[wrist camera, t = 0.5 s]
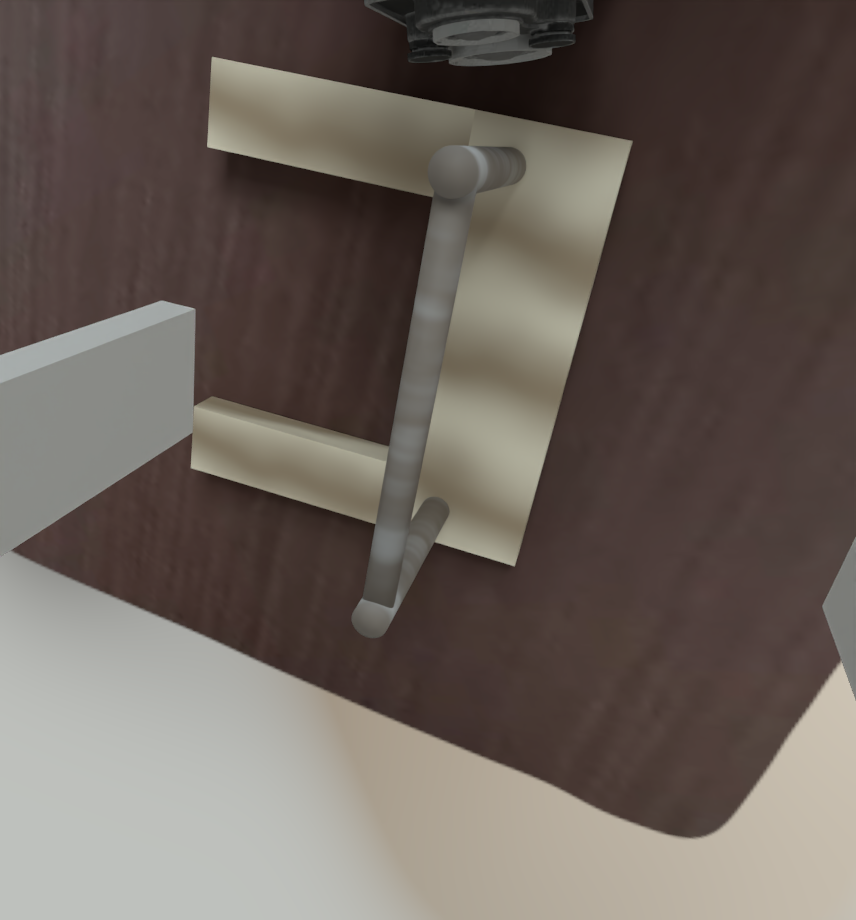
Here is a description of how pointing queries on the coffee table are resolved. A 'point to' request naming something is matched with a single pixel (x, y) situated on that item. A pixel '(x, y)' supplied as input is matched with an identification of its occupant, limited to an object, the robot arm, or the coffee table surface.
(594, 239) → the wooden rack
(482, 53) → the camera
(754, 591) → the coffee table surface
